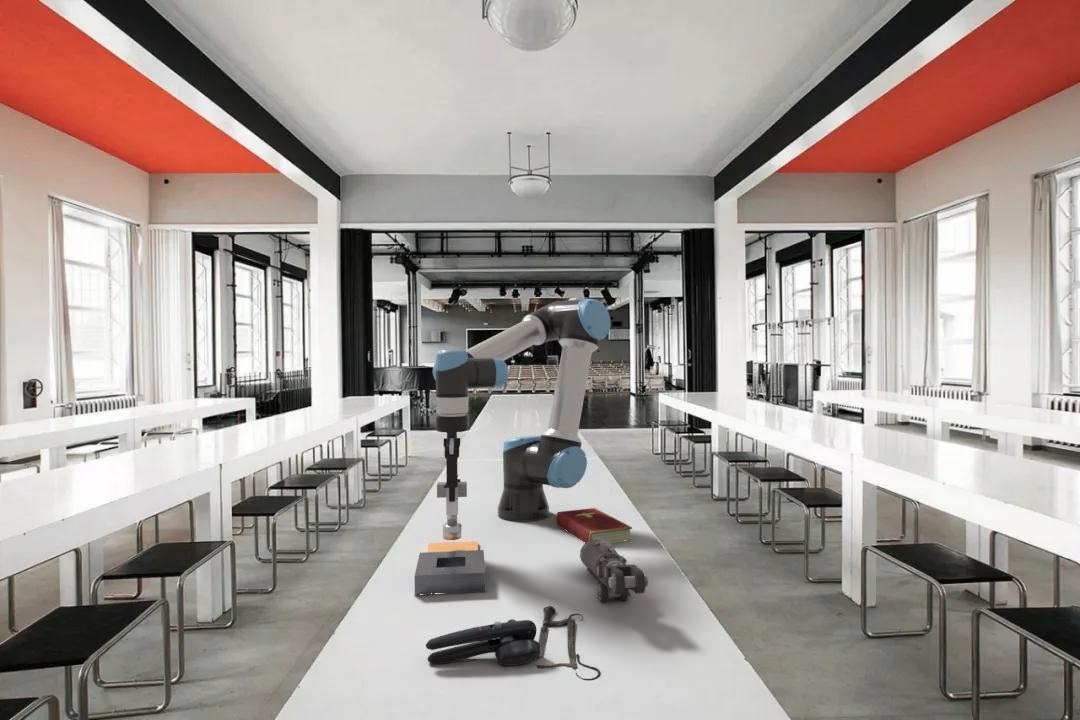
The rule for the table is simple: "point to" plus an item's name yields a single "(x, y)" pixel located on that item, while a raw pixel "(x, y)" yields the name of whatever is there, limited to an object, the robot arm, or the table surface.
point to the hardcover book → (593, 525)
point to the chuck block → (450, 572)
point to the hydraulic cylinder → (612, 571)
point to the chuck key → (451, 527)
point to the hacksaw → (571, 649)
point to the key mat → (453, 546)
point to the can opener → (489, 643)
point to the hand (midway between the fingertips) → (452, 512)
